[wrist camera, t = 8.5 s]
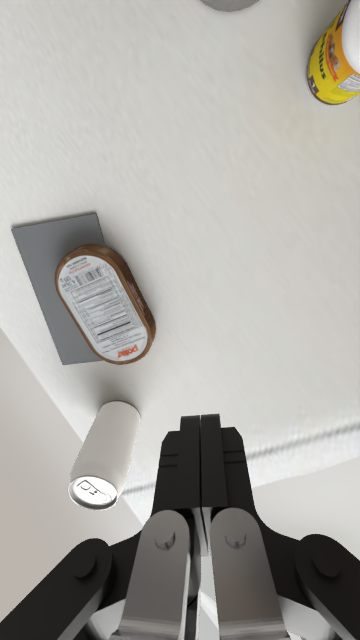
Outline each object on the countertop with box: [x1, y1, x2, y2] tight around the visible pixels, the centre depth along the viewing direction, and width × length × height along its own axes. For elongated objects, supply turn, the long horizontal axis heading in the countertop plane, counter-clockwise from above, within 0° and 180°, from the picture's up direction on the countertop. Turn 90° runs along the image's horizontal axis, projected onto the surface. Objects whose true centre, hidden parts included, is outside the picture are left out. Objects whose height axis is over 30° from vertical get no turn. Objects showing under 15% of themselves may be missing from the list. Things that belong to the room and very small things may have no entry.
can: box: [68, 401, 141, 510], centre depth 37 cm, size 6×6×12 cm
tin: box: [55, 244, 156, 365], centre depth 34 cm, size 15×3×8 cm
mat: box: [11, 213, 105, 365], centre depth 35 cm, size 18×10×1 cm, turn 10°
